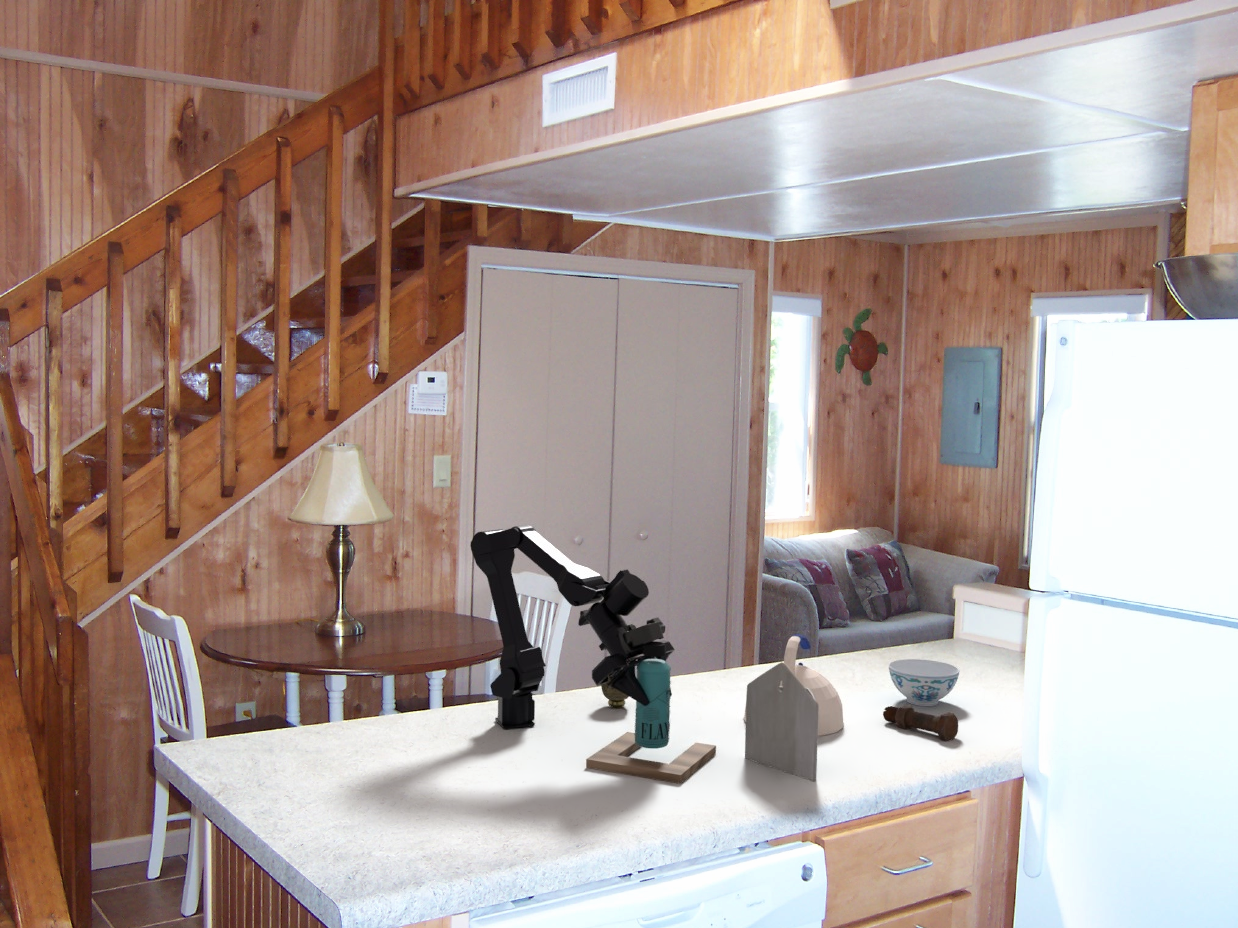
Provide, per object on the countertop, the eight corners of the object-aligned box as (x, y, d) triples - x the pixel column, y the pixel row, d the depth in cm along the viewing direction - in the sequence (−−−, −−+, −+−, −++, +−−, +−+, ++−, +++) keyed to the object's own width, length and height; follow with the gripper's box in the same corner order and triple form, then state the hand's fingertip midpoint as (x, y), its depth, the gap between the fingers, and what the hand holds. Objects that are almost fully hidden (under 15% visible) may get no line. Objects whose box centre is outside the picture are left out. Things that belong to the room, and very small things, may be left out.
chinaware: (966, 699, 251) (967, 665, 250) (946, 715, 238) (947, 679, 238) (900, 689, 259) (901, 655, 258) (877, 703, 246) (878, 668, 246)
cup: (633, 711, 237) (634, 673, 236) (598, 710, 237) (599, 673, 236) (634, 701, 244) (634, 665, 244) (599, 700, 244) (600, 664, 244)
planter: (842, 772, 202) (845, 664, 200) (814, 781, 196) (817, 671, 195) (772, 749, 214) (775, 647, 213) (743, 757, 209) (746, 654, 207)
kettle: (731, 729, 226) (733, 640, 225) (758, 703, 245) (760, 621, 244) (832, 743, 218) (835, 651, 217) (852, 715, 237) (855, 630, 236)
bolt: (888, 730, 234) (953, 746, 222) (875, 722, 231) (940, 737, 219) (897, 703, 235) (961, 718, 224) (884, 695, 232) (949, 709, 221)
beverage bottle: (635, 756, 203) (638, 646, 201) (632, 745, 209) (634, 638, 208) (671, 757, 203) (674, 646, 202) (667, 745, 210) (670, 638, 208)
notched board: (680, 783, 194) (680, 774, 194) (586, 767, 202) (586, 758, 202) (715, 753, 211) (715, 745, 211) (627, 739, 218) (627, 731, 218)
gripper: (606, 612, 199) (655, 685, 193) (667, 597, 214) (715, 665, 208) (570, 648, 205) (617, 721, 199) (633, 632, 219) (678, 699, 214)
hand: (659, 700), depth 205 cm, fingers closed on beverage bottle, 6 cm apart
